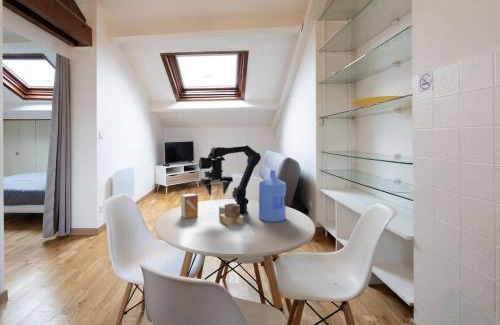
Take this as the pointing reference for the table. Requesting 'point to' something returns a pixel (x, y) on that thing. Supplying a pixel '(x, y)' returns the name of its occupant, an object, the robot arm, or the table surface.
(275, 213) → the water jug
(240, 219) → the oak slab
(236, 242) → the table surface
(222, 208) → the slate cube
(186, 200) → the small box
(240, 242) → the table surface
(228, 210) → the walnut cube
